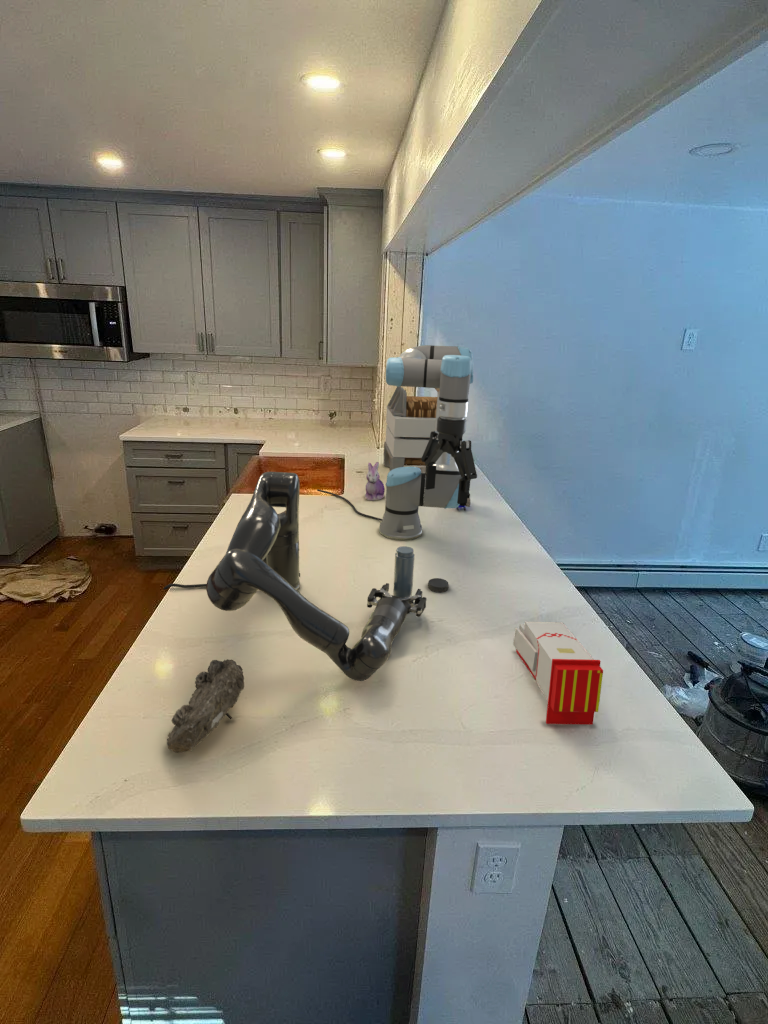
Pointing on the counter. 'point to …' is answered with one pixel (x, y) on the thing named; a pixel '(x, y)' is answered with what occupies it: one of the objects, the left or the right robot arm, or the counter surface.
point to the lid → (438, 585)
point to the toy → (561, 671)
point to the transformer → (408, 428)
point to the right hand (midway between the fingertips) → (445, 495)
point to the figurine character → (465, 503)
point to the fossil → (206, 705)
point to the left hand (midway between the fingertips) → (403, 589)
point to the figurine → (374, 483)
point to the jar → (403, 571)
